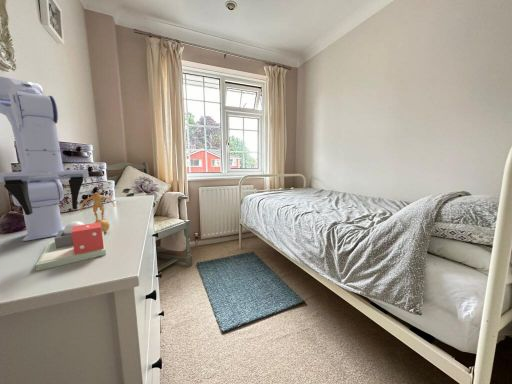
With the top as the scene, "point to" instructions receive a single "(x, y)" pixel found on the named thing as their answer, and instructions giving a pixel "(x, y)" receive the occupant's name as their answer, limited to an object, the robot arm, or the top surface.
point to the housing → (63, 240)
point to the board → (64, 255)
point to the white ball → (71, 227)
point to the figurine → (97, 201)
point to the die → (87, 237)
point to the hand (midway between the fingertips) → (53, 211)
